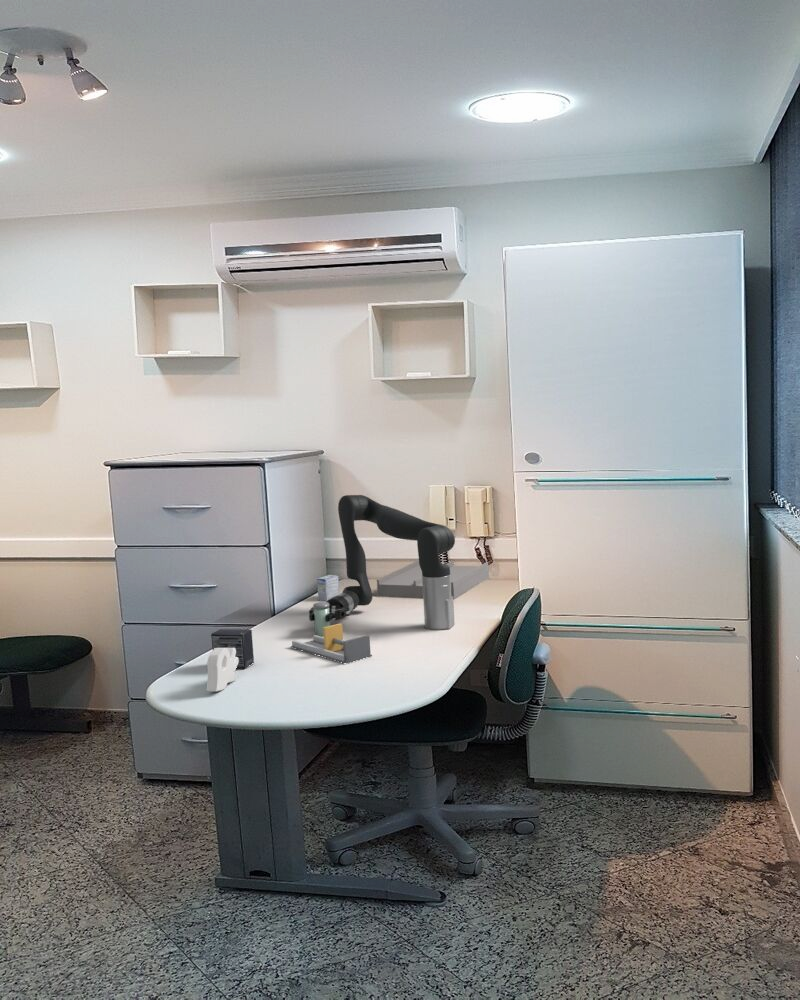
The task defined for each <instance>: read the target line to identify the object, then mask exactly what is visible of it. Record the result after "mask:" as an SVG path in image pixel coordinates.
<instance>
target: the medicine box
mask: <svg viewBox="0 0 800 1000" xmlns="http://www.w3.org/2000/svg"><path fill="white" fill-rule="evenodd" d="M316 581H317V582H316V583H317V597H318V598H317V599H318V601H320V602H327V601H328V600H329V599H331V598H333V597H334V596H336V595H339V594H340V583H339V575H334V574H328V575H325V576H321V577H318V578H317V579H316Z"/></svg>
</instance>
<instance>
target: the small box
mask: <svg viewBox="0 0 800 1000" xmlns="http://www.w3.org/2000/svg"><path fill="white" fill-rule="evenodd" d="M252 631H253V629H252V628H251V629H243V628H242V629H237V628H236V629H235V628H234V629H232V628H231V629H230V628H229V629H227V628H225V629H224V628H222V629H221V628H220V629H218V630H216V631H213V632H212V633H210V637H211V645H212V646H211V647H212V651H213V650H214V648H235V649H236V655H235V657H238V659H239V662H238V665H237V668H246V669H248V668H249V667H250V666H249V665H251V664H252V663H254V664H255V657H254V656H255V655H254V647H253V646H254V645H253V632H252ZM252 665H253V664H252ZM252 665H251V666H252ZM248 666H249V667H248ZM247 667H248V668H247Z"/></svg>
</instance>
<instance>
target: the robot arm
mask: <svg viewBox="0 0 800 1000" xmlns="http://www.w3.org/2000/svg"><path fill="white" fill-rule="evenodd" d="M337 505H338V506H337V512H338V519H339V523H340V529H341V533H342V539H343V544H344V549H345V551H344V552H345V558H346V559H345V563H346V576H347V579H350V580H355V581H357V582H358V585H349V586H346V587H344V589H343V590H342V592H341V593H339V595H336V596H334V597H333V598H331V599H329V600H328V601H326V602H328V603H329V614H327V615H326V616H325V618H326V622H329V621H330V622H331V621H332V620H333V621H338V620H342V619H345V618H348V617H350V615H351V612H352V611H353V610H355V609H356V608H358V606H360V607H361V606H363V607H364V606H368V605H370V604H371V602H372V601H373V591H372V587H371V584H370V582H369V578H368V574H367V562H366V561H367V559H366V553H365V550H364V548H363V546H362V544H361V542H360V540H359V537H358V536H357V534H356V530H355V522H357V521H365V522H370V523H373V524H376V526H377V527H378V529H379V531H381V532H382V533H383V534H385V535H387V536H391V537H392V538H395V539H400V540H406V541H416V542H417V544H416V545H417V554H418V560H419V565H420V568H421V570H422V582H423V598H422V601H423V616H424V618H423V619H424V620H423V621H424V628H425V629H429V630H447V629H451V628H452V627H453V626H455V624H456V623H455V605H454V600H453V596H451V579H450V567H449V566H448V565H446V564H447V563H442V562H441V561H440V555H441V554H444V553H447V552H449V551H451V550H453V548H454V546H455V542H456V539H455V535H454V533H453V532H452V530H451V529H450V528H449V527H448V526H446V525H443V524H439V523H435V522H431V521H427V520H424V519H421V518H419V517H416V516H414V515H413V514H409V513H406V512H404V511H402V510H399V509H396V508H393V507H390V506H388V505H383V504H381V503H379V502H377V501H375V500H374V499H372V498H370V497H368V496H367V495H366V496H365V495H363V494H347V495H343V496H341V497H340V498H339V501H338V504H337ZM308 613H309V615H308V617H309V621H310V622H315V619H314V608H313V606H312V607H311V608H310V609H309V610H308Z"/></svg>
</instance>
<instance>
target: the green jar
mask: <svg viewBox="0 0 800 1000" xmlns="http://www.w3.org/2000/svg"><path fill="white" fill-rule="evenodd" d="M312 604H313V605H312V607H313V608H314V619H315V620H314V630H315V631H314V633H315V635H317V636H322V637H324V634H323V627H327V626H331V620H330V621H329V622H326V618H325V616H326V615H327V614H329V603H328V602H327V601H320V602H315V603H312Z"/></svg>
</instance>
